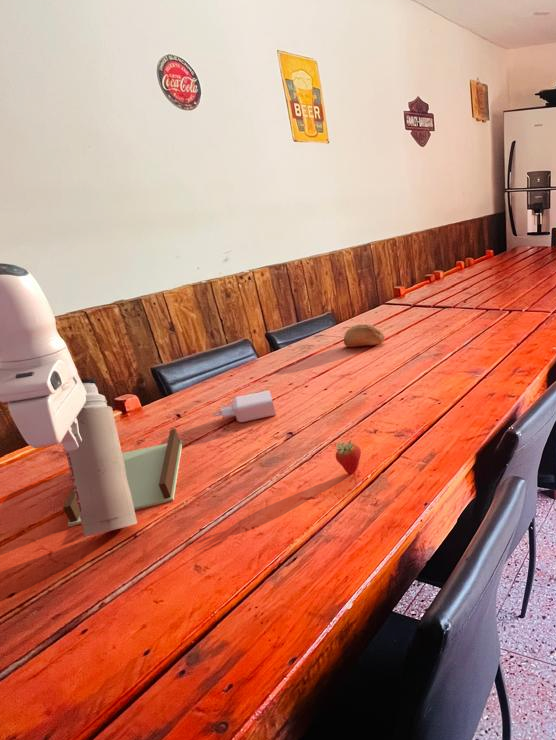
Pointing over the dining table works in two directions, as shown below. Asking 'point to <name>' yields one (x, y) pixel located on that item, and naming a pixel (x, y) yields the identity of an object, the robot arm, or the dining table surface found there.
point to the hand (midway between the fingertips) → (74, 446)
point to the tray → (144, 476)
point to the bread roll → (363, 335)
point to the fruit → (348, 456)
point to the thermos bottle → (99, 468)
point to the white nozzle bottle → (249, 407)
